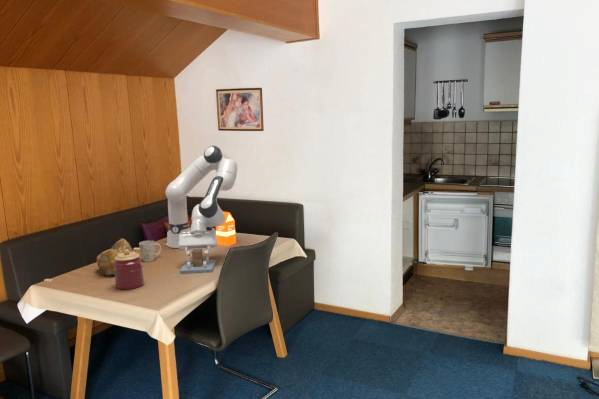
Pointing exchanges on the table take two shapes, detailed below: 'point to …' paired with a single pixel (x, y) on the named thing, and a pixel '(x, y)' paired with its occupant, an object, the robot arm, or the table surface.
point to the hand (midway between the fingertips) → (197, 254)
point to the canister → (128, 270)
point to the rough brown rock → (111, 257)
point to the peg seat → (206, 266)
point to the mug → (148, 250)
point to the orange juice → (226, 231)
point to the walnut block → (197, 257)
